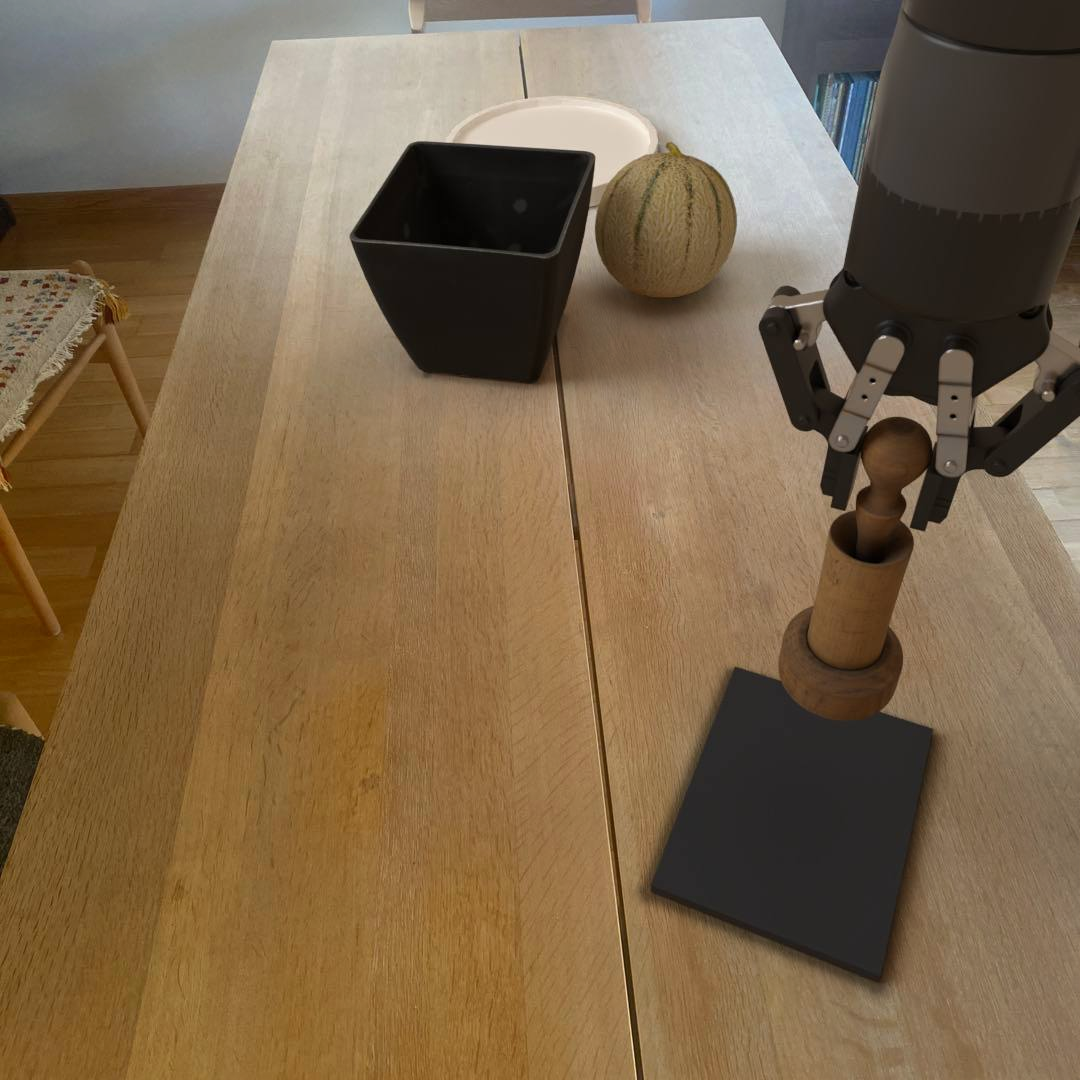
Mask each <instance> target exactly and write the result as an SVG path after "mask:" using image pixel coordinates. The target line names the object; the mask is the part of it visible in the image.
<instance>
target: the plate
mask: <svg viewBox="0 0 1080 1080" xmlns="http://www.w3.org/2000/svg"><path fill="white" fill-rule="evenodd" d="M444 142H446V143H464V144H480V145H496V146H513V147H529V148H545V149H561V150H576V151H587V152H591V153H593V154H594V155H595V169H594V178H593V185H592V192H591V199H590V205H589V208H591V207H595V206H598V205H599V203H600V200H601V197H602V195H603V193H604V191H605V189H606V186H607V185H608V183H609V182H610V180H611V179H612V178H613V177H614V176H615V175H616V174H617V173H618V171H620V170H621V169H622V168H623V167H624V166H626V165H627V164H628V163H630V162H632V161H633V160H635V159H638V158H640V157H642V156H644V155H645V154H647V155H649V154H654V153H659V139H658V131H657V129H656V127H655V126H654V125H653V124H652V123H651V121H650V120H649V119H648V118H647V117H646V116H644V115H643V114H641V113H639V112H638V111H636V110H635V109H633V108H630V107H628V106H624V105H622V104H620V103H616V102H614V101H610V100H606V99H599V98H595V97H590V96H589V97H588V96H572V95H550V96H534V97H528V98H527V97H526V98H522V99H515V100H511V101H507V102H502V103H500V104H496V105H493V106H490V107H487V108H485V109H482V110H480V111H478V112H476V113H473V114H471V115H469V116H467V117H466V118H464V120H462V121H461V122H459V123H458V124H457V125H455V126H454V127H453V128H452V130H451V131H450V132H449V134H447V137H446V138H445V139H444Z"/></svg>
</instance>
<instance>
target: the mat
mask: <svg viewBox="0 0 1080 1080" xmlns="http://www.w3.org/2000/svg"><path fill="white" fill-rule="evenodd" d="M933 733H934V728H932V727H929V726H926V725H923V724H919V723H916V722H913V721H911V720H907V719H903V718H900V717H897V716H894V715H892V714H891V715H890V714H888V713H884V712H881V711H879V712H877V713H876V714H874V715H872V716H870V717H867V718H864V719H861V720H855V721H837V720H831V719H828V718H824V717H821V716H818V715H816V714H813V713H811V712H809V711H808V710H806V709H805V708H803V707H802V706H800V705H799V704H798V703H797V702H796V701H794V700H793V699H792V698H791V696H790V695H789V694H788V693H787V691H786V690H785V688H784V686H783V684H782V682H781V679H780V680H779V679H777V678H775V677H774V678H773V677H770V676H767V675H763V674H761V673H758V672H755V671H751V670H748V669H745V668H743V667H742V668H741V667H738V666H734V667H733V670H732V673H731V675H730V678H729V680H728V683H727V686H726V689H725V690H724V693H723V696H722V699H721V701H720V704H719V706H718V709H717V711H716V714H715V716H714V719H713V722H712V725H711V727H710V730H709V733H708V735H707V737H706V740H705V743H704V746H703V748H702V750H701V753H700V756H699V758H698V761H697V763H696V766H695V769H694V771H693V774H692V776H691V778H690V782H689V785H688V787H687V790H686V792H685V795H684V797H683V800H682V803H681V805H680V808H679V810H678V812H677V815H676V819H675V821H674V824H673V826H672V829H671V830H670V833H669V837H668V839H667V841H666V844H665V846H664V849H663V852H662V854H661V857H660V860H659V862H658V865H657V868H656V869H655V873H654V875H653V878H652V880H651V883H650V893H653V894H656V895H658V896H660V897H663V898H664V899H665V898H666V899H668V900H671V901H673V902H676V903H678V904H680V905H683V906H686V907H688V908H691V909H693V910H695V911H698V912H701V913H703V914H706V915H708V916H711V917H712V918H716V919H718V920H720V921H723V922H726V923H728V924H730V925H733V926H735V927H739V928H740V929H743V930H745V931H748V932H751V933H752V934H755V935H758V936H761V937H764V938H766V939H768V940H770V941H774V942H776V943H778V944H780V945H783V946H786V947H788V948H791V949H793V950H795V951H799V952H801V953H803V954H806V955H808V956H810V957H813V958H816V959H819V960H821V961H824V962H826V963H828V964H831V965H833V966H836V967H839V968H841V969H843V970H846V971H849V972H851V973H853V974H856V975H859V976H861V977H864V978H866V979H868V980H871V981H872V982H873V981H874V982H876V983H879V981H880V979H881V978H882V974H883V969H884V964H885V961H886V955H887V950H888V945H889V941H890V935H891V931H892V927H893V922H894V917H895V911H896V908H897V904H898V900H899V899H898V898H899V893H900V889H901V884H902V879H903V876H904V875H903V874H904V871H905V864H906V860H907V856H908V851H909V846H910V841H911V837H912V832H913V827H914V823H915V818H916V813H917V808H918V804H919V799H920V795H921V794H920V793H921V789H922V784H923V779H924V775H925V771H926V767H927V761H928V756H929V751H930V746H931V743H932V739H933V738H932V737H933Z"/></svg>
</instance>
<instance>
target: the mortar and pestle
mask: <svg viewBox="0 0 1080 1080" xmlns="http://www.w3.org/2000/svg"><path fill="white" fill-rule="evenodd" d="M932 451H933V441H932V438H931V436H930V434H929V432H928V430H927V429H926V428H925V427H924V426H923V425H922V424H921V423H919V422H918V421H916V420H914V419H912V418H909V417H905V416H889V417H885V418H883V419H881V420H879V421H877V422H876V423H874V424H873V425H872V426H871V427H870V428H868V430H867V433H866V435H865V437H864V439H863V442H862V446H861V459H860V461H861V463H862V464H861V465H862V466H863V468H864V470H865V473H866V475H867V476H868V479H869V485H867V486H864V487H863V488H861V489H860V490H859V491H858V493H857V494H856V497H855V509H854V510H850V511H847V512H846V511H845V512H844V513H842V514H840V515H838V516H837V517H836V518H835V519H834V520H833V521H832V523H831V525H830V526H829V530H828V535H827V540H826V544H825V545H826V546H825V549H824V555H823V559H822V565H821V569H820V574H819V575H820V576H819V580H818V585H817V590H816V594H815V599H814V603H813V605H811V606H808V607H806V608H804V609H802V610H801V611H799V612H798V613H796V614H795V616H794V617H793V618H791V620H790V621H789V623H788V624H787V626H786V627H785V630H784V632H783V636H782V639H781V645H780V647H781V648H780V651H779V655H778V661H777V662H778V663H777V664H778V665H777V668H778V675H779V679H780V681H781V682H782V684H783V686H784V688H785V690H786V691H787V693H788V694H789V695H790V696H791V698H792V699H793V700H794V701H796V702H797V703H798V704H799V705H800V706H802V707H803V708H805V709H806V710H808V711H809V712H811V713H813V714H816V715H818V716H821V717H824V718H828V719H831V720H837V721H855V720H861V719H864V718H867V717H870V716H872V715H874V714H876V713H877V712H881V711H882V710H883V709H884V708H886V706H887V705H888V704H889V703H890V702H891V700H892V698H893V697H894V695H895V692H896V689H897V687H898V683H899V681H900V677H901V674H902V670H903V667H904V651H903V647H902V644H901V642H900V639H899V638H898V635H896V633H895V632H894V630H893V629H892V628H891V626H890V624H891V619H892V617H893V613H894V609H895V606H896V603H897V600H898V596H899V593H900V590H901V588H902V585H903V581H904V577H905V575H906V571H907V569H908V566H909V563H910V560H911V557H912V554H913V551H914V547H915V539H914V535H913V533H912V530H911V528H910V527H908V525H907V524H906V523H904V521H902V520H901V519H902V518H903V516H904V513H905V512H906V510H907V507H908V506H907V505H908V504H907V499H906V497H905V496H904V494H903V493H902V492H903V491H902V490H903V489H905V488H906V487H908V486H909V485H911V484H912V483H913V482H915V481H916V480H918V478H919V479H920V477H921V476H922V475H923V474H924V473H926V470H927V468H928V465H929V462H930V460H931V458H932Z"/></svg>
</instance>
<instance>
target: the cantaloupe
mask: <svg viewBox="0 0 1080 1080" xmlns="http://www.w3.org/2000/svg"><path fill="white" fill-rule="evenodd" d="M665 148H666V149H667V150H668V151H669V152H660V151H658V153H654V154H649V155H647V154H645V155H644V156H642V157H640V158H638V159H635V160H633V161H632V162H630V163H628V164H627V165H626V166H624V167H623V168H622V169H621V170H620V171H618V173H617V174H616V175H615V176H614V177H613V178H612V179H611V180H610V182H609V183H608V185H607V186H606V189H605V191H604V193H603V195H602V197H601V200H600V203H599V205H597V208H596V215H595V220H594V221H595V222H594V234H595V237H594V239H595V243H596V249H597V252H598V255H599V258H600V260H601V263H602V265H603V266H604V267H605V268H606V270H607V272H608V274H609V275H611V277H612V278H613V279H614V280H615V281H616V283H618V284H619V285H621V286H622V287H623V288H625V289H627V290H628V291H630V292H631V293H634V294H638V295H642V296H647V297H651V298H677V297H678V298H679V297H682V296H687V295H690V294H692V293H694V292H697V291H699V290H701V289H702V288H703V287H706V286H707V285H708V284H709V283H710V282H711V281H712V280H713V279H715V277H716V276H717V275H718V273H719V272H720V270H721V269H722V268H723V266H724V264H725V263H726V262H727V260H728V258H729V255H730V253H731V252H732V249H733V246H734V243H735V238H736V234H737V227H738V213H737V206H736V204H735V198H734V196H733V194H732V193H733V192H732V191H731V188H730V186H729V184H728V182H727V181H726V179H725V178H724V176H723V175H722V174H721V173H720V172H719V170H717V169H716V168H715V167H713V165H711V164H709V163H707V162H706V161H704V160H702V159H699V158H698V157H696V156H693V155H686V154H684V153H683V152H682V151H681V150H680V149H679V146H678V145H676V143H674V142H672V141H666V142H665Z"/></svg>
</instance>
